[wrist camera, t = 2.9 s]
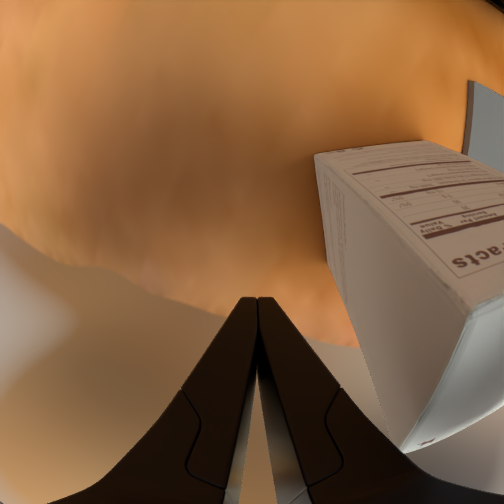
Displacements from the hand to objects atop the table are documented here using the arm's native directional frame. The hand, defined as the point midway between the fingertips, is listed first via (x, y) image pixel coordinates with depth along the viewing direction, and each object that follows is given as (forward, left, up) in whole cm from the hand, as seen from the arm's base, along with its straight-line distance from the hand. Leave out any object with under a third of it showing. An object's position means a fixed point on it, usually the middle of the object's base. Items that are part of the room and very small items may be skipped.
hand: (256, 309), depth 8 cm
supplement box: (-7, 0, -9) cm, 12 cm away
